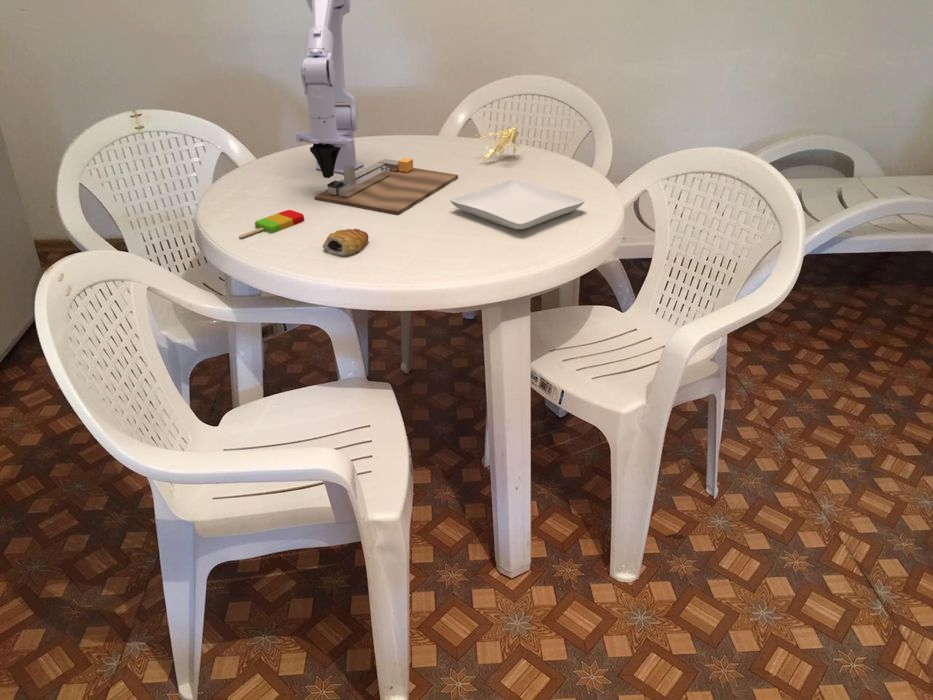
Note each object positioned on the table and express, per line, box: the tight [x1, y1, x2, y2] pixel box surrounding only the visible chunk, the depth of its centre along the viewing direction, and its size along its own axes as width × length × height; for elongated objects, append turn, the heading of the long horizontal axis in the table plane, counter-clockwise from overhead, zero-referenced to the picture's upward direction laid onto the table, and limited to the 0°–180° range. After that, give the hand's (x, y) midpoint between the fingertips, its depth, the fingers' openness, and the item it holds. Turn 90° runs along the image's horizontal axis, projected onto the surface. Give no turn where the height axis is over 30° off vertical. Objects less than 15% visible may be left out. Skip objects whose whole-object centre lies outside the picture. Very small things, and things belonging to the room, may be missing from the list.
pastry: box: [322, 228, 370, 257], centre depth 139 cm, size 9×7×4 cm
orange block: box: [397, 157, 414, 172], centre depth 177 cm, size 3×2×2 cm
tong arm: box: [339, 165, 390, 197], centre depth 167 cm, size 18×2×6 cm, turn 153°
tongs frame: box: [326, 158, 399, 195], centre depth 171 cm, size 24×5×2 cm, turn 153°
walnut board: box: [313, 167, 459, 216], centre depth 169 cm, size 28×22×1 cm
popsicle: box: [238, 209, 305, 239], centre depth 148 cm, size 6×15×2 cm, turn 142°
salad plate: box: [450, 178, 586, 230], centre depth 155 cm, size 21×21×3 cm
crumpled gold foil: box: [471, 123, 523, 163], centre depth 186 cm, size 11×15×9 cm
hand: (328, 176), depth 164 cm, fingers closed
